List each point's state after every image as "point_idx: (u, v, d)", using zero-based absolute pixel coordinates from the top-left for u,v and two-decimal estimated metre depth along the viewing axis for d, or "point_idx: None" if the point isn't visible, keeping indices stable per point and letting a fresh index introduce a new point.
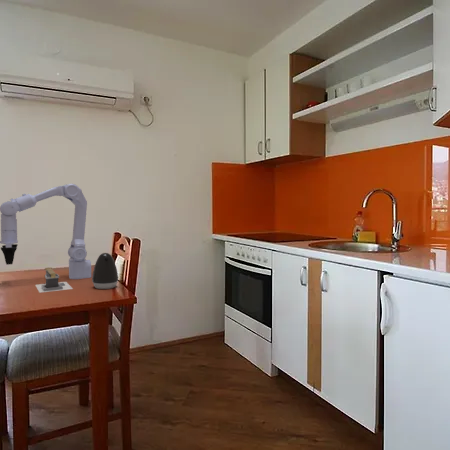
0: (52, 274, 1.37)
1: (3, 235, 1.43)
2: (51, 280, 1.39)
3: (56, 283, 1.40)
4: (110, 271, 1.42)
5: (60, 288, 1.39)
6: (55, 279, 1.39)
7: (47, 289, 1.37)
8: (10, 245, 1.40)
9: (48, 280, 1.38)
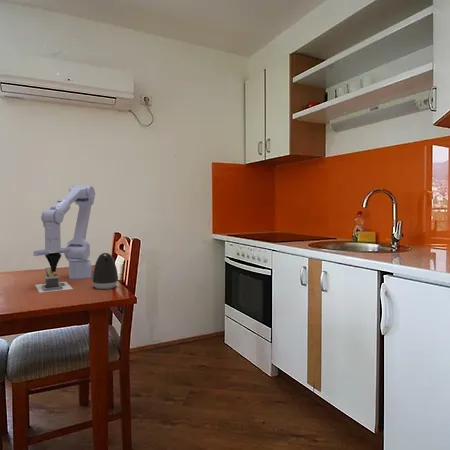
0: (50, 274, 1.37)
1: None
2: (51, 280, 1.39)
3: (56, 283, 1.40)
4: (110, 271, 1.42)
5: (60, 288, 1.39)
6: (55, 279, 1.39)
7: (47, 289, 1.37)
8: (35, 254, 1.38)
9: (48, 280, 1.38)
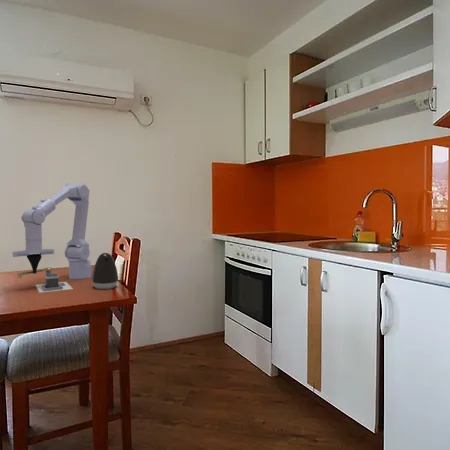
0: (18, 274, 1.37)
1: None
2: (51, 280, 1.39)
3: (56, 283, 1.40)
4: (110, 271, 1.42)
5: (60, 288, 1.39)
6: (55, 279, 1.39)
7: (47, 289, 1.37)
8: (13, 254, 1.35)
9: (48, 280, 1.38)
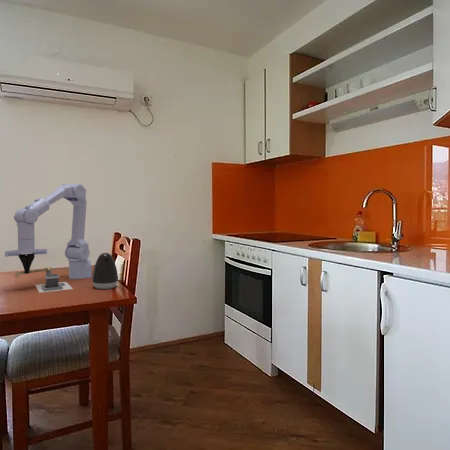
0: (15, 273, 1.38)
1: None
2: (51, 280, 1.39)
3: (56, 283, 1.40)
4: (110, 271, 1.42)
5: (60, 288, 1.39)
6: (55, 279, 1.39)
7: (47, 289, 1.37)
8: (5, 254, 1.34)
9: (48, 280, 1.38)
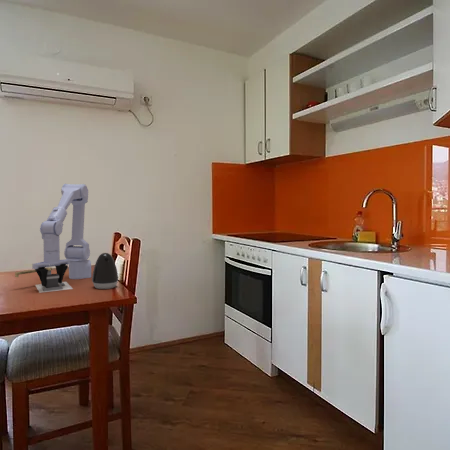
0: (15, 273, 1.38)
1: None
2: (51, 280, 1.39)
3: (56, 283, 1.40)
4: (110, 271, 1.42)
5: (60, 288, 1.39)
6: (55, 279, 1.39)
7: (47, 289, 1.37)
8: (34, 267, 1.34)
9: (48, 280, 1.38)
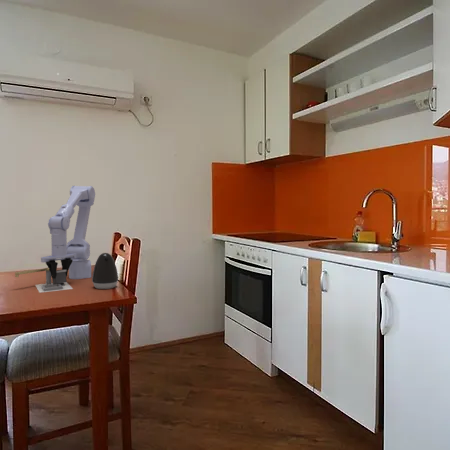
0: (15, 273, 1.38)
1: None
2: (59, 274, 1.45)
3: (64, 276, 1.46)
4: (110, 271, 1.42)
5: (60, 288, 1.39)
6: (63, 273, 1.46)
7: (47, 289, 1.37)
8: (43, 260, 1.40)
9: (57, 274, 1.44)
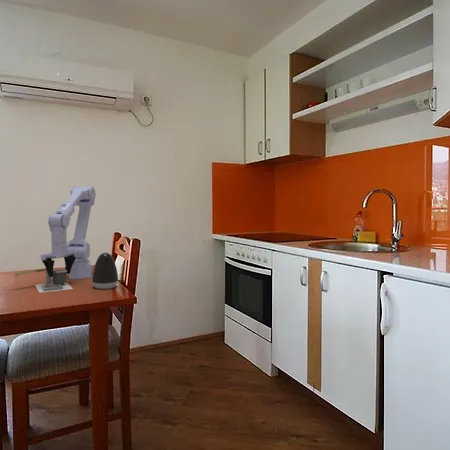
0: (15, 273, 1.38)
1: None
2: (60, 274, 1.45)
3: (64, 277, 1.47)
4: (110, 271, 1.42)
5: (60, 288, 1.39)
6: (63, 273, 1.46)
7: (47, 289, 1.37)
8: (43, 258, 1.40)
9: (57, 274, 1.45)
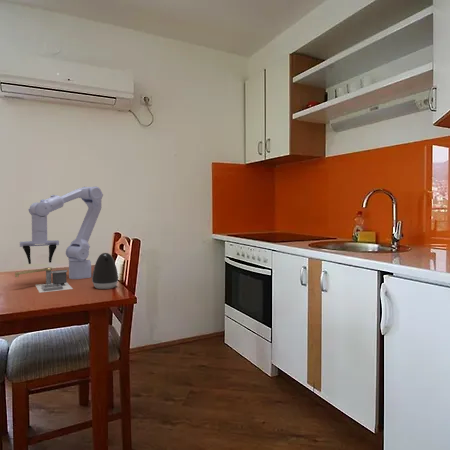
0: (15, 273, 1.38)
1: None
2: (60, 274, 1.45)
3: (64, 277, 1.47)
4: (110, 271, 1.42)
5: (60, 288, 1.39)
6: (63, 273, 1.46)
7: (47, 289, 1.37)
8: (20, 244, 1.43)
9: (57, 274, 1.45)
